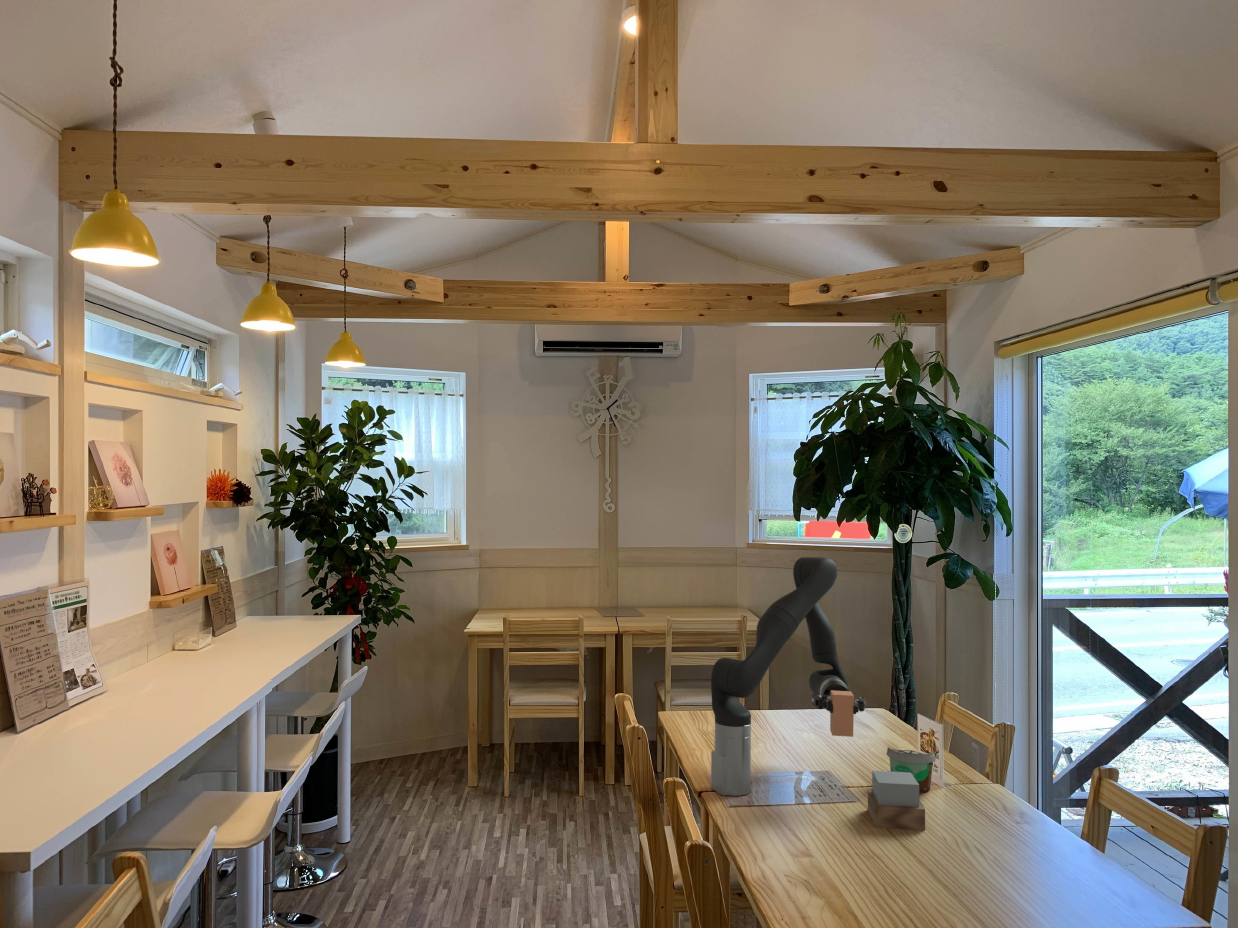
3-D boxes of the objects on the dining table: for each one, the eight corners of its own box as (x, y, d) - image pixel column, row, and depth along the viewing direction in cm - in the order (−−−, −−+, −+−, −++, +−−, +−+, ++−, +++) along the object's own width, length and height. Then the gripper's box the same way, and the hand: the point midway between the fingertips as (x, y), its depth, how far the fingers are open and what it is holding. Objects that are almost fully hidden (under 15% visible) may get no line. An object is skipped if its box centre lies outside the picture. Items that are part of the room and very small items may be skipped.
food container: (882, 789, 222) (882, 750, 222) (886, 782, 227) (886, 744, 228) (932, 797, 216) (932, 757, 217) (936, 790, 222) (935, 751, 222)
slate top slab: (878, 804, 198) (878, 782, 198) (872, 791, 207) (872, 770, 207) (919, 806, 197) (919, 784, 197) (910, 793, 206) (910, 772, 206)
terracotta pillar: (832, 735, 212) (833, 694, 213) (830, 730, 217) (830, 690, 218) (853, 736, 212) (853, 695, 212) (850, 731, 217) (851, 691, 217)
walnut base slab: (875, 828, 197) (875, 806, 197) (867, 811, 207) (867, 790, 208) (925, 831, 195) (925, 809, 195) (915, 813, 206) (915, 792, 206)
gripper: (807, 678, 230) (813, 692, 213) (863, 681, 228) (873, 695, 211) (807, 707, 230) (813, 723, 213) (862, 710, 228) (873, 726, 211)
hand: (843, 709), depth 212 cm, fingers closed on terracotta pillar, 5 cm apart
